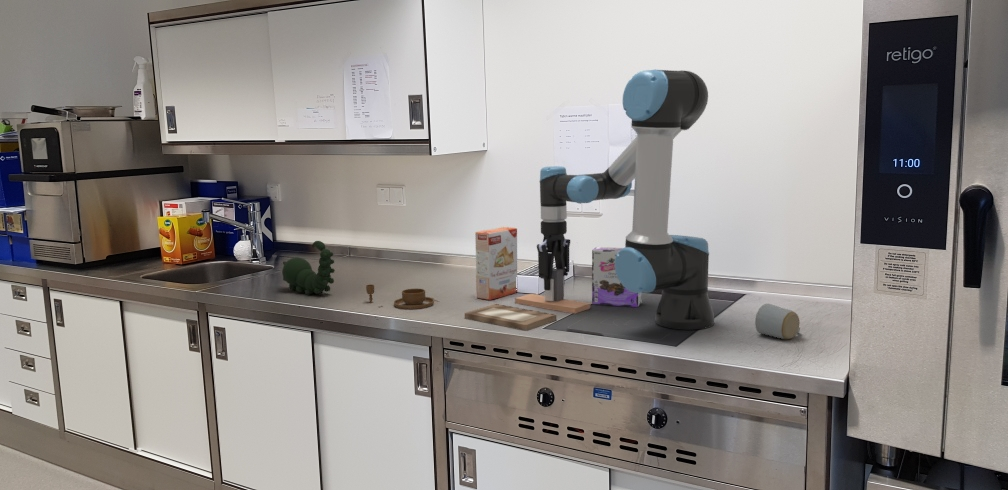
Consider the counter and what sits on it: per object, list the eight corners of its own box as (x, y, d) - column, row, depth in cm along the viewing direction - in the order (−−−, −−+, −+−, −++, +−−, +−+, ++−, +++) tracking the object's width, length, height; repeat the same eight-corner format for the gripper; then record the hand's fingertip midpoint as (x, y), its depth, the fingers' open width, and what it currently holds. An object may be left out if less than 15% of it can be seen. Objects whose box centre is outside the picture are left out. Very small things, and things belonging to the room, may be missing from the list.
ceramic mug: (783, 343, 180) (785, 311, 179) (753, 336, 187) (755, 305, 186) (808, 335, 186) (810, 305, 185) (778, 329, 193) (780, 299, 192)
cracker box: (490, 301, 231) (488, 232, 227) (475, 298, 234) (473, 231, 231) (519, 292, 241) (517, 227, 238) (504, 290, 245) (502, 226, 242)
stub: (590, 308, 218) (590, 272, 217) (575, 313, 213) (574, 276, 211) (530, 298, 233) (530, 264, 231) (515, 303, 227) (514, 268, 226)
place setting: (401, 315, 218) (400, 295, 217) (363, 304, 233) (362, 285, 232) (448, 304, 230) (448, 285, 229) (409, 294, 244) (409, 276, 244)
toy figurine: (341, 299, 246) (295, 283, 262) (341, 241, 242) (294, 229, 258) (317, 304, 239) (271, 288, 255) (317, 246, 235) (270, 232, 251)
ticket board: (556, 320, 206) (556, 314, 206) (526, 330, 197) (526, 324, 196) (495, 308, 221) (495, 303, 220) (464, 318, 211) (464, 312, 211)
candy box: (591, 304, 223) (591, 249, 221) (596, 300, 229) (596, 246, 226) (638, 307, 218) (638, 251, 216) (642, 302, 224) (642, 247, 221)
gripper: (560, 216, 229) (561, 292, 233) (524, 222, 216) (526, 303, 219) (581, 217, 224) (582, 295, 228) (545, 224, 211) (546, 306, 215)
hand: (554, 298), depth 224 cm, fingers closed on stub, 4 cm apart
